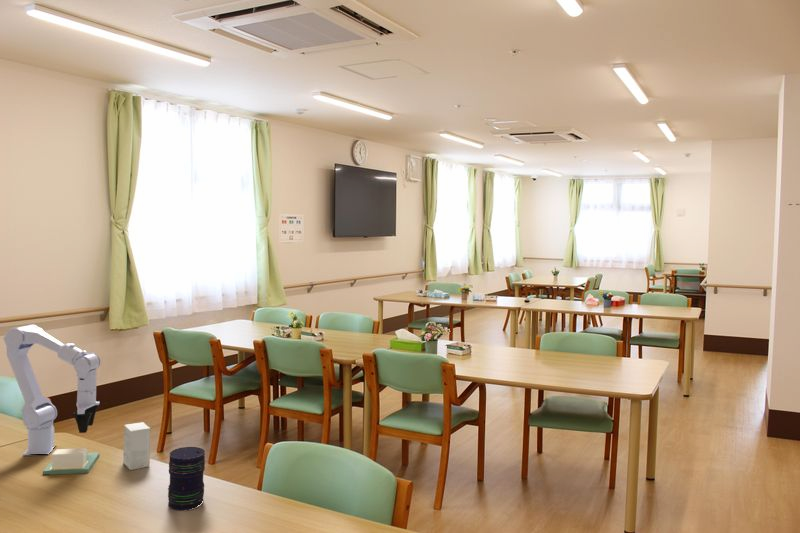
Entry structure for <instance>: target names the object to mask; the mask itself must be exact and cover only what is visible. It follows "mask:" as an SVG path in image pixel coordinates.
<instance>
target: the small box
mask: <svg viewBox="0 0 800 533" xmlns="http://www.w3.org/2000/svg"><path fill="white" fill-rule="evenodd" d="M123 429H124V430H123V455H122V456H123V458H122V462H123V464H124V465H125V466H126V467H127V469H129V470H130V471H132V470H138V469H143V468H147V467H150V463H151V462H150V460H151V459H150V458H151V456H150V455H151V427H150V426H148V425H147V423H145V422H143V421H141V422H134V423H127V424H124V428H123Z"/></svg>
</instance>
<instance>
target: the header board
mask: <svg viewBox="0 0 800 533" xmlns="http://www.w3.org/2000/svg"><path fill="white" fill-rule="evenodd" d="M99 457H100V452H87V462H86V463H85V465H84V466H83V467H74V468H52V460H51V461H50V462H49V463H48V464H47V465H46V467H45V468H44V469H43V470H42V475H43V474H50V475H70V474H72V475H73V474H87V473H88V474H89V472H90V470H91V469H92V467H94V464H95V463H96V461H97V460H98V459H99ZM97 458H98V459H97Z"/></svg>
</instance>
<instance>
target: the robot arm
mask: <svg viewBox="0 0 800 533" xmlns="http://www.w3.org/2000/svg"><path fill="white" fill-rule="evenodd" d="M3 341H4V344H5V346H6V357H7V359H8V362H9V364H10V366H11V369H12V372H13V374H14V376H15V380H16V382H17V384H18V387H19V389H20V392H21V395H22V396H23V399H24V404H23V406H22V408H21V414H22V422H23V425H24V426H25V428H26V430H27V449H26V451H25V452H23V454H22V456H30V455H29V454H48V455H49V453H50V452H51V453H52V452H53V450H54V449H55V448H54V447H52V446H53V445H54V444H55V427H54V425H53V424H54V420H55V419H56V418H57V416H58V410H57V407H56V406H55V405H54V404H53V403H52V401H51V398H48V397H46V396H44V395H43V392H42V389H41V387H40V385H39V381H38V380H37V377H36V374H35V372H34V369H33V367H32V365H31V362H30V359H29V356H28V353H29V350H30V349H32V348H33V346H34V345H35V344H38V345H40V346H42V347H44V348H46V349H48V350H50V351H53V352H55V353H57V356H58V357H57V358H59V359H60V360H62V361H64V362H65V363H67V364H69V365H71V366H73V368H74V370H75V372H76V377H77V395H76V407H77V411H74V412H73V413H72V416H73V418H74V419H75V422H76V426H77V428H78V429H77V430H78V432H79V434H87V431H88V429H89V427H90V426H93V425H94V421H95V417H96V413H97V410H98V409H99V406H100V400H99V401H97V374H98V373H97V372H98V371H97V369H98V368H99V367H100V366H101V358H100V356H99V355H98V354H97V353H95V352H88V351H87V350H82V349H81V348H79V347H77V346H76V343H62V342H61V341H59V340H58V339H56V338H55V337H53V336H52V335H50V334H49V333H47V332H46V331H44V329H43V328H42V327H39V326H37V325H36V324H33V323H32V324H28V325H23V326H18V327H11V328H9V329H8V330H7V331H6V333H5V335H4V337H3ZM53 448H54V449H53ZM25 453H26V454H25Z"/></svg>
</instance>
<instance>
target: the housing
mask: <svg viewBox="0 0 800 533" xmlns="http://www.w3.org/2000/svg"><path fill="white" fill-rule="evenodd" d="M87 453H88V449H87V448H60V449H59V448H57V449H55V451H54V452H52V454H51V461H52V468H74V467H83V466H84V465H85V463H86V462H87Z"/></svg>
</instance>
